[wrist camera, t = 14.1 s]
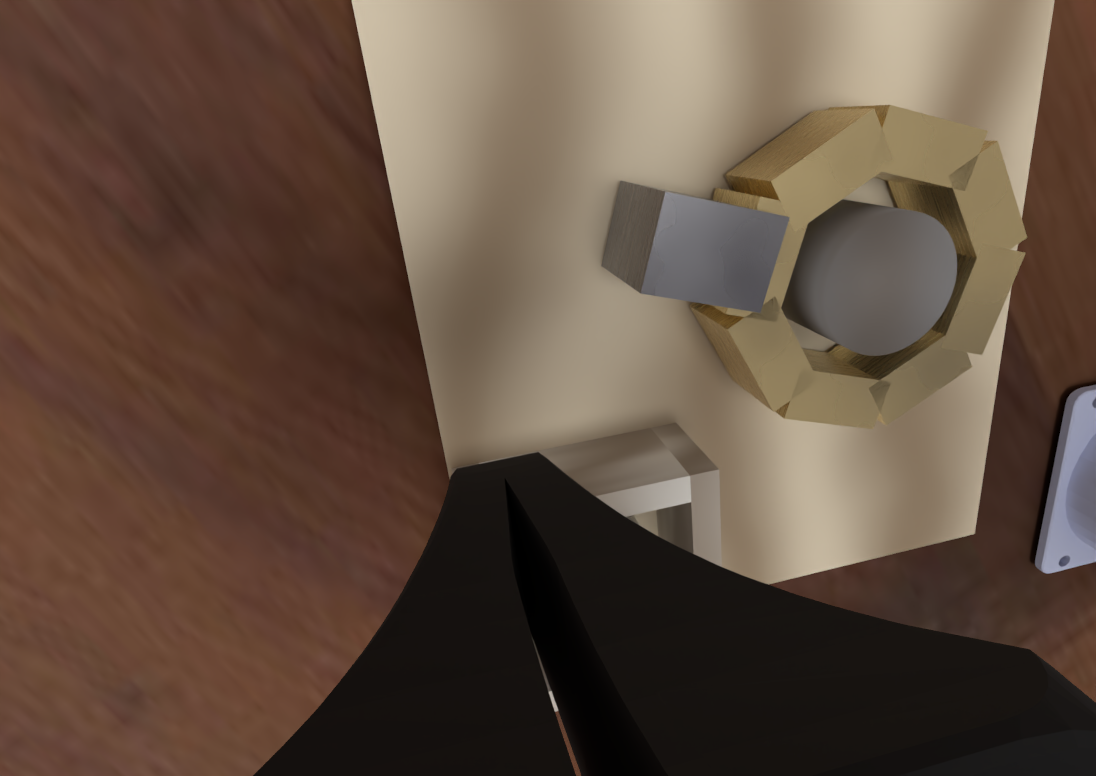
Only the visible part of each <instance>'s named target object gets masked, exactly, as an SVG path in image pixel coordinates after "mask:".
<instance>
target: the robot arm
mask: <svg viewBox="0 0 1096 776" xmlns="http://www.w3.org/2000/svg"><path fill="white" fill-rule="evenodd" d="M1093 562H1096V385H1092V386H1087V387H1082V388H1079V389H1077V390H1075V391H1073V392H1072V393H1071V394H1070V395H1069V397H1068V398H1067V401H1066V404H1065V409H1064V414H1063V419H1062V425H1061V430H1060V435H1059V440H1058V445H1057V450H1056V455H1055V460H1054V466H1053V471H1052V476H1051V481H1050V486H1049V491H1048V496H1047V502H1046V507H1045V512H1044V517H1043V522H1042V527H1041V532H1040V537H1039V543H1038V548H1037V553H1036V558H1035V566H1036V567H1037V568H1038V569H1039V570H1041V571H1042V572H1044V573H1046V574H1048V573H1054V572H1058V571H1062V570H1065V569H1069V568H1073V567H1077V566H1081V565H1085V564H1089V563H1093ZM532 638H533V639H532ZM533 641H534V642H533ZM534 644H535V645H534ZM535 646H536V649H537V652H538V655H539V658H540V660H541V663H542V666H543V669H544V672H545V675H546V677H547V680H548V683H549V686H550V689H551V691H552V694H553V697H554V700H555V702H556V705H557V708H558V711H559V714H560V716H561V719H562V722H563V725H564V728H565V730H566V733H567V736H568V739H569V742H570V744H571V747H572V750H573V753H574V755H575V758H576V761H577V764H578V767H579V769H580V772H581V776H1096V703H1095V702H1094V701H1093V700H1092V699H1090V698H1089V697H1088V696H1087V695H1086V694H1084V693H1083V692H1082V691H1081V690H1079V689H1078V688H1077V687H1076V686H1075V685H1073V684H1072V683H1071V682H1070V681H1069V680H1067V679H1066V678H1065V677H1064V676H1063V675H1061V674H1060V673H1059V672H1058V671H1057V670H1055V669H1054V668H1053V667H1052V666H1051V665H1049V664H1048V663H1047V662H1045V661H1044V660H1043V659H1041V658H1040V657H1039V656H1037V655H1036V654H1035V653H1034V652H1032V651H1031V650H1030V649H1024V648H1019V647H1014V646H1009V645H1004V644H999V643H994V642H989V641H984V640H979V639H974V638H969V637H964V636H958V635H953V634H948V633H943V632H938V631H933V630H928V629H923V628H918V627H913V626H908V625H904V624H900V623H895V622H891V621H887V620H884V619H880V618H876V617H872V616H869V615H865V614H861V613H857V612H854V611H850V610H846V609H842V608H839V607H835V606H831V605H828V604H825V603H822V602H818V601H815V600H812V599H809V598H805V597H802V596H799V595H796V594H793V593H790V592H787V591H784V590H782V589H779V588H776V587H773V586H770V585H768V584H765V583H762V582H759V581H757V580H754V579H751V578H748V577H745V576H743V575H740V574H738V573H735V572H733V571H731V570H728V569H726V568H723V567H721V566H718V565H716V564H714V563H712V562H710V561H708V560H705V559H703V558H701V557H699V556H697V555H695V554H693V553H690V552H688V551H686V550H684V549H682V548H680V547H678V546H676V545H674V544H672V543H670V542H668V541H666V540H664V539H662V538H660V537H659V536H657V535H655V534H653V533H652V532H650V531H648V530H646V529H645V528H643V527H641V526H640V525H638V524H636V523H635V522H633V521H631V520H629V519H628V518H626V517H625V516H623V515H622V514H620V513H619V512H617V511H616V510H614V509H613V508H611V507H610V506H609V505H607V504H606V503H604V502H603V501H601V500H600V499H599V498H597V497H596V496H594V495H593V494H591V493H590V492H589V491H587V490H586V489H585V488H583V487H582V486H581V485H580V484H578V483H577V482H576V481H574V480H573V479H572V478H571V477H569V476H568V475H567V474H566V473H564V472H563V471H562V470H561V469H559V468H558V467H557V466H556V465H555V464H553V463H552V462H551V461H550V460H549V459H547V458H546V457H545V456H543V455H542V454H540V453H539V452H536V453H531V454H526V455H521V456H516V457H511V458H506V459H501V460H496V461H492V462H487V463H482V464H477V465H472V466H467V467H462V468H457V469H456V470H455V471H454V473H453V474H452V475H451V477H450V482H449V487H448V491H447V494H446V497H445V501H444V503H443V506H442V509H441V512H440V514H439V517H438V520H437V522H436V524H435V527H434V529H433V531H432V533H431V536H430V538H429V540H428V543H427V545H426V547H425V549H424V551H423V554H422V556H421V558H420V559H419V561H418V563H417V565H416V567H415V569H414V571H413V572H412V574H411V576H410V578H409V580H408V582H407V584H406V586H405V587H404V589H403V591H402V593H401V595H400V596H399V598H398V600H397V601H396V603H395V605H394V606H393V608H392V609H391V611H390V613H389V614H388V616H387V617H386V619H385V620H384V622H383V624H382V625H381V626H380V628H379V629H378V631H377V632H376V634H375V635H374V637H373V638H372V640H371V641H370V642H369V644H368V645H367V647H366V648H365V650H364V651H363V652H362V654H361V655H360V656H359V657H358V659H357V660H356V661H355V663H354V664H353V665H352V667H351V668H350V669H349V670H348V672H347V673H346V674H345V676H344V677H343V678H342V679H341V681H340V682H339V683H338V685H337V686H336V687H335V688H334V689H333V691H332V692H331V693H330V694H329V695H328V697H327V698H326V699H325V700H324V702H323V703H322V704H321V705H320V706H319V708H318V709H317V710H316V711H315V712H314V713H313V714H312V715H311V716H310V718H309V719H308V720H307V721H306V722H305V723H304V724H303V725H302V726H301V727H300V728H299V729H298V730H297V731H296V733H295V734H294V735H293V736H292V737H291V738H290V739H289V740H288V741H287V742H286V743H285V744H284V745H283V746H282V747H281V748H280V749H279V750H278V751H277V752H276V753H275V754H274V755H273V756H272V757H271V758H270V759H269V760H268V761H267V762H266V763H265V764H264V765H263V766H262V767H261V768H260V769H259V770H258V771H257V772H256V773H255V774H254V775H253V776H576V774H575V771H574V768H573V765H572V762H571V759H570V756H569V753H568V750H567V747H566V744H565V741H564V738H563V735H562V732H561V729H560V726H559V723H558V720H557V717H556V714H555V711H554V708H553V704H552V701H551V698H550V695H549V691H548V688H547V685H546V682H545V679H544V675H543V672H542V669H541V666H540V663H539V659H538V656H537V652H536V649H535Z"/></svg>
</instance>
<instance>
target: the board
mask: <svg viewBox="0 0 1096 776" xmlns="http://www.w3.org/2000/svg"><path fill="white" fill-rule="evenodd" d="M352 5H353V10H354V15H355V19H356V24H357V29H358V34H359V39H360V44H361V49H362V54H363V59H364V63H365V68H366V73H367V78H368V83H369V88H370V93H371V98H372V103H373V107H374V112H375V117H376V122H377V127H378V132H379V137H380V142H381V146H382V151H383V156H384V161H385V166H386V171H387V176H388V181H389V186H390V190H391V195H392V200H393V205H394V210H395V215H396V220H397V225H398V229H399V234H400V239H401V244H402V249H403V254H404V259H405V264H406V269H407V273H408V278H409V283H410V288H411V293H412V298H413V303H414V308H415V313H416V317H417V322H418V327H419V332H420V337H421V342H422V347H423V352H424V356H425V361H426V366H427V371H428V376H429V381H430V386H431V391H432V396H433V400H434V405H435V410H436V415H437V420H438V425H439V430H440V435H441V439H442V444H443V449H444V454H445V459H446V464H447V469H448V474H449V479H450V477H451V475H452V474H453V473H454V471H455V470H456V469H457V468H462V467H467V466H472V465H477V464H482V463H487V462H492V461H496V460H501V459H506V458H511V457H516V456H521V455H526V454H531V453H536V452H539V453H540V454H542V455H543V456H545V457H546V458H547V459H549V460H550V461H551V462H552V463H553V464H555V465H556V466H557V467H558V468H559V469H561V470H562V471H563V472H564V473H566V474H567V475H568V476H569V477H571V478H572V479H573V480H574V481H576V482H577V483H578V484H580V485H581V486H582V487H583V488H585V489H586V490H587V491H589V492H590V493H591V494H593V495H594V496H596V497H597V498H599V499H600V500H601V501H603V502H604V503H606V504H607V505H609V506H610V507H611V508H613V509H614V510H616V511H617V512H619V513H620V514H622V515H623V516H625V517H627V516H631V515H634V516H635V518H636V520H637V521H638V523H639V525H640V526H641V527H643V528H645V529H646V530H648V531H650V532H652V533H653V534H655V535H657V536H659V537H660V538H662V539H664V540H666V541H668V542H670V543H672V544H674V545H676V546H678V547H680V548H682V549H684V550H686V551H688V552H690V553H693V554H695V555H697V556H699V557H701V558H703V559H705V560H708V561H710V562H712V563H714V564H716V565H718V566H721V567H723V568H726V569H728V570H731V571H733V572H735V573H738V574H740V575H743V576H745V577H748V578H751V579H754V580H757V581H759V582H762V583H765V584H772V583H776V582H780V581H784V580H788V579H792V578H796V577H801V576H805V575H809V574H813V573H817V572H821V571H825V570H829V569H833V568H837V567H842V566H846V565H850V564H854V563H858V562H862V561H866V560H870V559H874V558H878V557H882V556H887V555H891V554H895V553H899V552H903V551H907V550H911V549H915V548H919V547H923V546H927V545H932V544H936V543H940V542H944V541H948V540H952V539H956V538H960V537H964V536H968V535H972V534H975V528H976V521H977V515H978V508H979V501H980V495H981V488H982V481H983V475H984V468H985V461H986V455H987V448H988V441H989V434H990V428H991V421H992V414H993V408H994V401H995V394H996V388H997V381H998V374H999V368H1000V361H1001V354H1002V348H1003V341H1004V334H1005V328H1006V321H1007V314H1008V308H1009V301H1010V294H1011V289H1010V291H1009V294H1008V296H1007V298H1006V301H1005V303H1004V305H1003V308H1002V310H1001V312H1000V315H999V317H998V319H997V322H996V324H995V326H994V329H993V331H992V333H991V336H990V338H989V340H988V343H987V345H986V347H985V350H984V352H983V354H982V355H979V354H973V353H967V354H968V357H969V359H970V362H971V365H972V368H970V369H969V370H967V371H966V372H964V373H963V374H961V375H960V376H958V377H957V378H955V379H954V380H953V381H951V382H950V383H948V384H947V385H945V386H944V387H942V388H941V389H939V390H938V391H936V392H935V393H933V394H932V395H931V396H929V397H928V398H926V399H925V400H923V401H922V402H920V403H919V404H917V405H916V406H914V407H913V408H911V409H910V410H908V411H907V412H906V413H904V414H903V415H901V416H900V417H898V418H897V419H895V420H894V421H892V422H891V423H889V424H888V425H884V424H883V423H881V422H880V421H878V420H877V421H876V423H875V426H874V428H873V429H866V428H858V427H849V426H841V425H832V424H824V423H815V422H807V421H798V420H790V419H784V418H783V417H781V416H780V415H779V414H777V413H776V412H773V411H772V410H770V409H769V408H768V407H767V406H765V405H764V404H763V403H761V402H760V401H759V400H757V399H756V398H755V397H754V396H752V395H751V394H750V393H748V392H747V391H746V390H744V389H743V388H742V387H741V386H739V385H738V384H737V383H735V382H734V381H733V380H732V379H731V377H730V375H729V373H728V372H727V370H726V368H725V366H724V365H723V363H722V361H721V360H720V358H719V356H718V354H717V353H716V351H715V349H714V348H713V346H712V344H711V342H710V341H709V339H708V337H707V335H706V334H705V332H704V330H703V329H702V327H701V325H700V323H699V322H698V320H697V318H696V316H695V315H694V313H693V311H692V310H691V308H690V306H689V305H691V304H692V303H694V302H690V301H683V300H677V299H671V298H665V297H659V296H653V295H646V294H641V293H639V292H638V291H636V290H635V289H633V288H632V287H631V286H629V285H628V284H626V283H625V282H623V281H622V280H621V279H619V278H618V277H616V276H615V275H613V274H612V273H611V272H609V271H608V270H606V269H605V268H603V267H602V266H601V265H602V260H603V256H604V251H605V247H606V242H607V238H608V233H609V229H610V225H611V220H612V216H613V211H614V207H615V202H616V198H617V193H618V189H619V184H620V180H621V181H626V182H630V183H635V184H640V185H645V186H650V187H655V188H659V189H664V190H669V191H674V192H679V193H684V194H689V195H693V196H698V197H703V198H708V199H713V196H714V192H715V188H719V189H724V190H729V191H733V190H732V188H731V186H730V184H729V182H728V180H727V178H726V176H725V174H726V173H728V172H729V171H730V170H732V169H733V168H735V167H736V166H737V165H739V164H740V163H742V162H743V161H744V160H746V159H747V158H749V157H750V156H751V155H753V154H754V153H756V152H757V151H758V150H760V149H761V148H763V147H764V146H765V145H767V144H768V143H770V142H771V141H773V140H774V139H775V138H777V137H778V136H780V135H781V134H782V133H784V132H785V131H787V130H788V129H789V128H791V127H792V126H794V125H795V124H796V123H798V122H799V121H801V120H802V119H803V118H805V117H806V116H808V115H809V114H810V113H812V112H813V111H818V110H828V108H829V107H851V106H874V105H893V106H897V107H901V108H904V109H908V110H912V111H916V112H919V113H923V114H927V115H931V116H934V117H938V118H942V119H946V120H949V121H953V122H957V123H961V124H964V125H968V126H972V127H976V128H979V129H983V130H987V131H988V133H987V136H986V138H985V141H998V143H999V146H1000V149H1001V153H1002V156H1003V159H1004V163H1005V166H1006V169H1007V172H1008V176H1009V179H1010V182H1011V186H1012V189H1013V192H1014V195H1015V199H1016V202H1017V205H1018V209H1019V212H1020V215H1021V219H1022V214H1023V207H1024V201H1025V194H1026V187H1027V181H1028V174H1029V167H1030V160H1031V154H1032V147H1033V140H1034V134H1035V127H1036V120H1037V114H1038V107H1039V100H1040V94H1041V87H1042V80H1043V74H1044V67H1045V60H1046V54H1047V47H1048V40H1049V33H1050V27H1051V20H1052V13H1053V7H1054V0H352ZM1017 247H1018V244H1017V245H1016V246H1014V247H1013V248H1012V249H1010V250H1015V251H1017ZM956 275H957V255H956V250H955V246H954V243H953V240H952V238H951V236H950V235H949V233H948V231H947V230H946V229H945V227H944V226H943V225H942V224H941V223H940V222H939V221H938V220H936V219H935V218H933V217H931V216H929V215H927V214H925V213H921V212H917V211H912V210H906V209H900V208H898V207H897V204H896V202H895V199H894V196H893V194H892V191H891V189H890V186H889V184H888V181H885V180H881V179H877V178H872V179H870V180H869V181H868V182H866V183H865V184H863V185H862V186H860V187H859V188H858V189H856V190H855V191H853V192H852V193H850V194H849V195H848V196H846V197H845V198H843V199H842V200H840V201H839V202H838V203H836V204H835V205H833V206H832V207H831V208H829V209H828V210H826V211H825V212H823V213H822V214H821V215H819V216H818V217H816V218H815V219H813V220H812V221H811V222H809V223H808V225H807V228H806V231H805V234H804V238H803V241H802V244H801V247H800V250H799V253H798V256H797V260H796V263H795V266H794V269H793V272H792V275H791V278H790V282H789V285H788V288H787V291H786V294H785V297H784V301H783V304H782V307H781V309H782V311H783V313H784V315H785V317H786V319H787V321H788V322H789V324H790V326H791V328H792V330H793V332H794V334H795V336H796V338H797V340H798V342H799V344H800V346H801V348H802V349H808V350H814V351H821V352H829V351H831V350H832V349H834V348H835V347H837V346H838V345H841V346H843V347H845V348H847V349H849V350H851V351H853V352H856V353H859V354H862V355H869V356H880V355H887V354H890V353H894V352H897V351H899V350H902V349H904V348H906V347H908V346H910V345H911V344H913V343H914V342H916V341H917V340H919V339H920V338H921V337H922V336H923V335H925V334H926V333H927V332H928V331H929V330H930V329H931V328H932V327H933V325H934V324H935V323H936V322H937V320H938V319H939V318H940V316H941V315H942V313H943V312H944V310H945V308H946V306H947V304H948V302H949V300H950V297H951V295H952V292H953V289H954V285H955V281H956ZM1011 287H1012V286H1011ZM532 639H533V638H532ZM533 642H534V641H533ZM534 645H535V644H534ZM535 649H536V646H535ZM536 652H537V649H536ZM537 656H538V659H539V663H540V666H541V669H542V672H543V675H544V679H545V682H546V685H547V688H548V691H549V695H550V698H551V701H552V704H553V708H554V711H555V712H556V711H558V708H557V705H556V702H555V700H554V697H553V694H552V691H551V689H550V686H549V683H548V680H547V677H546V675H545V672H544V669H543V666H542V663H541V660H540V658H539V655H538V652H537Z"/></svg>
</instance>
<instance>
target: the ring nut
mask: <svg viewBox="0 0 1096 776" xmlns="http://www.w3.org/2000/svg"><path fill="white" fill-rule="evenodd" d="M987 133H988V131H987V130H983V129H979V128H976V127H972V126H968V125H964V124H961V123H957V122H953V121H949V120H946V119H942V118H938V117H934V116H931V115H927V114H923V113H919V112H916V111H912V110H908V109H904V108H901V107H897V106H893V105H874V106H851V107H829V108H828V110H818V111H813V112H812V113H810V114H809V115H808V116H806V117H805V118H803V119H802V120H801V121H799V122H798V123H796V124H795V125H794V126H792V127H791V128H789V129H788V130H787V131H785V132H784V133H782V134H781V135H780V136H778V137H777V138H775V139H774V140H773V141H771V142H770V143H768V144H767V145H765V146H764V147H763V148H761V149H760V150H758V151H757V152H756V153H754V154H753V155H751V156H750V157H749V158H747V159H746V160H744V161H743V162H742V163H740V164H739V165H737V166H736V167H735V168H733V169H732V170H730V171H729V172H728V173H726V174H725V176H726V178H727V180H728V182H729V184H730V186H731V188H732V190H733V191H729V190H724V189H719V188H715V192H714V196H713V199H708V198H703V197H698V196H693V195H689V194H684V193H679V192H674V191H669V190H664V189H659V188H655V187H650V186H645V185H640V184H635V183H630V182H626V181H621V180H620V184H619V189H618V193H617V198H616V202H615V207H614V211H613V216H612V220H611V225H610V229H609V233H608V238H607V242H606V247H605V251H604V256H603V260H602V265H601V266H602V267H603V268H605V269H606V270H608V271H609V272H611V273H612V274H613V275H615V276H616V277H618V278H619V279H621V280H622V281H623V282H625V283H626V284H628V285H629V286H631V287H632V288H633V289H635V290H636V291H638V292H639V293H641V294H646V295H653V296H659V297H665V298H671V299H677V300H683V301H690V302H694V303H692V304H691V305H689V306H690V308H691V310H692V311H693V313H694V315H695V316H696V318H697V320H698V322H699V323H700V325H701V327H702V329H703V330H704V332H705V334H706V335H707V337H708V339H709V341H710V342H711V344H712V346H713V348H714V349H715V351H716V353H717V354H718V356H719V358H720V360H721V361H722V363H723V365H724V366H725V368H726V370H727V372H728V373H729V375H730V377H731V379H732V380H733V381H734V382H735V383H737V384H738V385H739V386H741V387H742V388H743V389H744V390H746V391H747V392H748V393H750V394H751V395H752V396H754V397H755V398H756V399H757V400H759V401H760V402H761V403H763V404H764V405H765V406H767V407H768V408H769V409H770V410H772V411H773V412H776V413H777V414H779V415H780V416H781V417H783V418H784V419H790V420H798V421H807V422H815V423H824V424H832V425H841V426H849V427H858V428H866V429H873V428H874V426H875V423H876V421H877V420H878V421H880V422H881V423H883V424H884V425H888V424H889V423H891V422H892V421H894V420H895V419H897V418H898V417H900V416H901V415H903V414H904V413H906V412H907V411H908V410H910V409H911V408H913V407H914V406H916V405H917V404H919V403H920V402H922V401H923V400H925V399H926V398H928V397H929V396H931V395H932V394H933V393H935V392H936V391H938V390H939V389H941V388H942V387H944V386H945V385H947V384H948V383H950V382H951V381H953V380H954V379H955V378H957V377H958V376H960V375H961V374H963V373H964V372H966V371H967V370H969V369H970V368H972V365H971V362H970V359H969V357H968V354H967V353H973V354H979V355H982V354H983V352H984V350H985V347H986V345H987V343H988V340H989V338H990V336H991V333H992V331H993V329H994V326H995V324H996V322H997V319H998V317H999V315H1000V312H1001V310H1002V308H1003V305H1004V303H1005V301H1006V298H1007V296H1008V294H1009V291H1010V289H1011V286H1012V284H1013V282H1014V279H1015V277H1016V275H1017V272H1018V270H1019V268H1020V265H1021V263H1022V261H1023V258H1024V256H1025V254H1026V253H1024V252H1019V251H1015V250H1010V249H1012V248H1013V247H1014V246H1016V245H1017V244H1019V243H1020V242H1022V241H1023V240H1025V239H1026V238H1027V235H1026V232H1025V228H1024V225H1023V222H1022V219H1021V215H1020V212H1019V209H1018V205H1017V202H1016V199H1015V195H1014V192H1013V189H1012V186H1011V182H1010V179H1009V176H1008V172H1007V169H1006V166H1005V163H1004V159H1003V156H1002V153H1001V149H1000V146H999V143H998V141H985V138H986V136H987ZM872 178H877V179H881V180H885V181H888V184H889V186H890V189H891V191H892V194H893V196H894V199H895V202H896V204H897V207H898V208H900V209H906V210H912V211H917V212H921V213H925V214H927V215H929V216H931V217H933V218H935V219H936V220H938V221H939V222H940V223H941V224H942V225H943V226H944V227H945V229H946V230H947V231H948V233H949V235H950V236H951V238H952V240H953V243H954V246H955V250H956V255H957V275H956V281H955V285H954V289H953V292H952V295H951V297H950V300H949V302H948V304H947V306H946V308H945V310H944V312H943V313H942V315H941V316H940V318H939V319H938V320H937V322H936V323H935V324H934V325H933V327H932V328H931V329H930V330H929V331H928V332H927V333H926V334H925V335H923V336H922V337H921V338H920V339H919V340H917V341H916V342H914V343H913V344H911V345H910V346H908V347H906V348H904V349H902V350H899V351H897V352H894V353H890V354H887V355H880V356H869V355H862V354H859V353H856V352H853V351H851V350H849V349H847V348H845V347H843V346H841V345H838V346H837V347H835V348H834V349H832V350H831V351H829V352H821V351H814V350H808V349H802V348H801V346H800V344H799V342H798V340H797V338H796V336H795V334H794V332H793V330H792V328H791V326H790V324H789V322H788V321H787V319H786V317H785V315H784V313H783V311H782V309H781V307H782V304H783V301H784V297H785V294H786V291H787V288H788V285H789V282H790V278H791V275H792V272H793V269H794V266H795V263H796V260H797V256H798V253H799V250H800V247H801V244H802V241H803V238H804V234H805V231H806V228H807V225H808V223H809V222H811V221H812V220H813V219H815V218H816V217H818V216H819V215H821V214H822V213H823V212H825V211H826V210H828V209H829V208H831V207H832V206H833V205H835V204H836V203H838V202H839V201H840V200H842V199H843V198H845V197H846V196H848V195H849V194H850V193H852V192H853V191H855V190H856V189H858V188H859V187H860V186H862V185H863V184H865V183H866V182H868V181H869V180H870V179H872Z"/></svg>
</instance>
